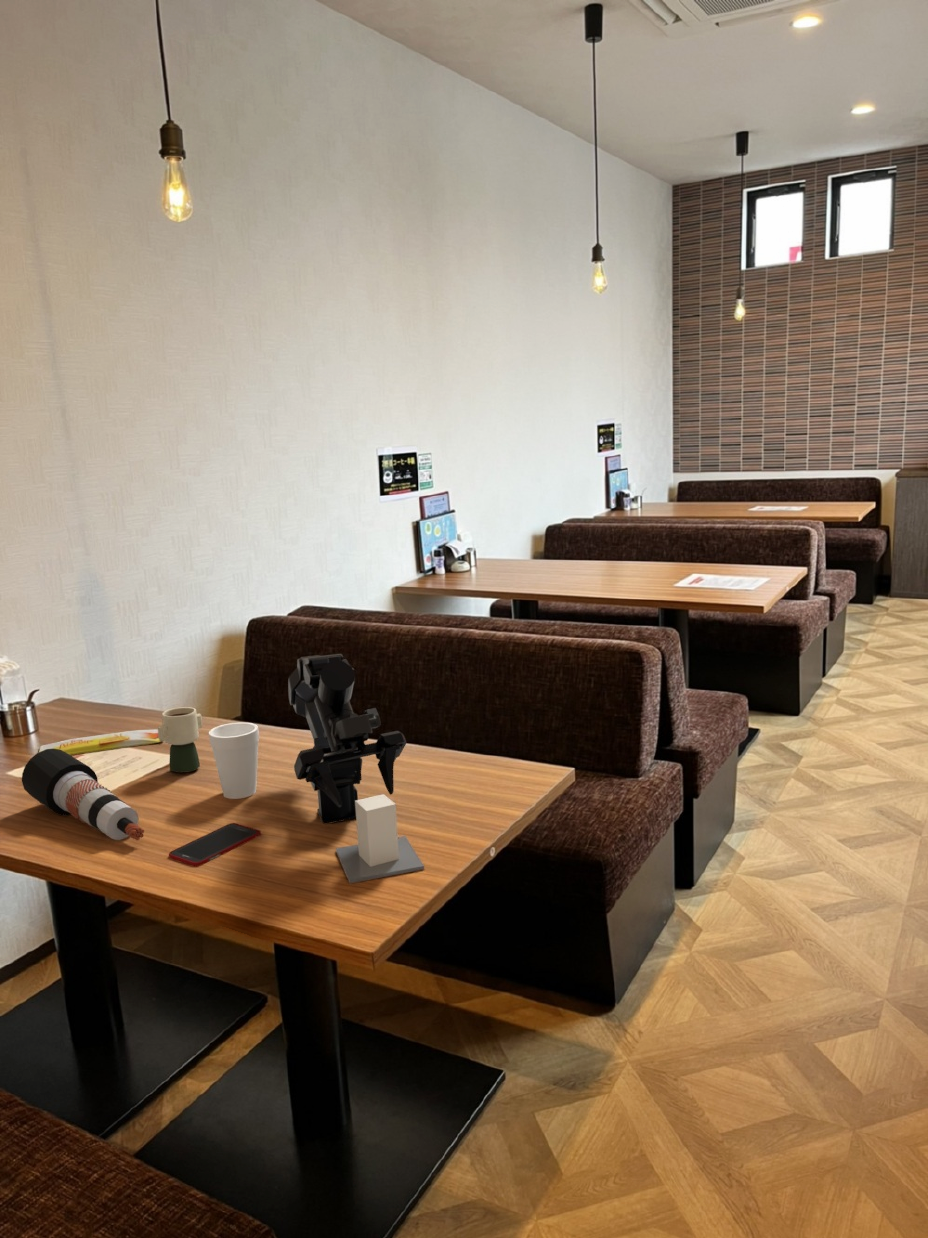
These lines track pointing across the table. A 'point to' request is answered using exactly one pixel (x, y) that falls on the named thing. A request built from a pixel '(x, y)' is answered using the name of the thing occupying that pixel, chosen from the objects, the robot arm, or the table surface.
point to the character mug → (181, 737)
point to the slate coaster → (362, 871)
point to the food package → (105, 742)
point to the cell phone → (214, 844)
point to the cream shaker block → (377, 830)
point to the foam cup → (236, 758)
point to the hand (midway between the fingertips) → (366, 799)
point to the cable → (78, 794)
